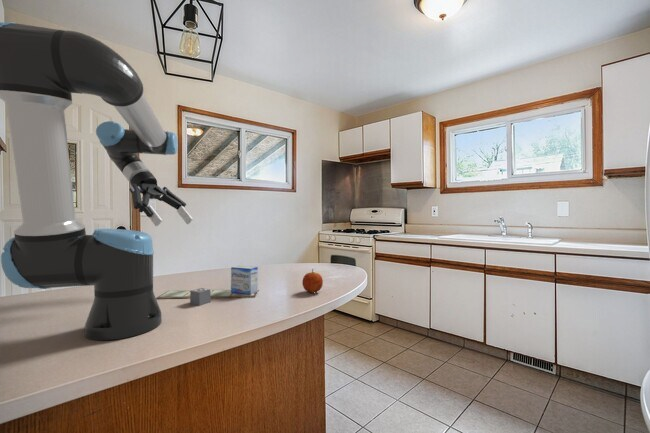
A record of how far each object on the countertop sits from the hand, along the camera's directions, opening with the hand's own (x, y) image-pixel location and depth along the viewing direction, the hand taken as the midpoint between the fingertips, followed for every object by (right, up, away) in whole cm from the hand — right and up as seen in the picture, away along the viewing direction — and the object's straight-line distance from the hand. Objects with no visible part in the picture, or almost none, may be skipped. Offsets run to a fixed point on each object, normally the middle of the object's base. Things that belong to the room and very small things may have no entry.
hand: (175, 222), depth 101 cm
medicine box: (+23, -24, 0) cm, 33 cm away
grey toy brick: (+13, -24, -10) cm, 29 cm away
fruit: (+46, -24, +2) cm, 52 cm away
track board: (+12, -24, -1) cm, 27 cm away
